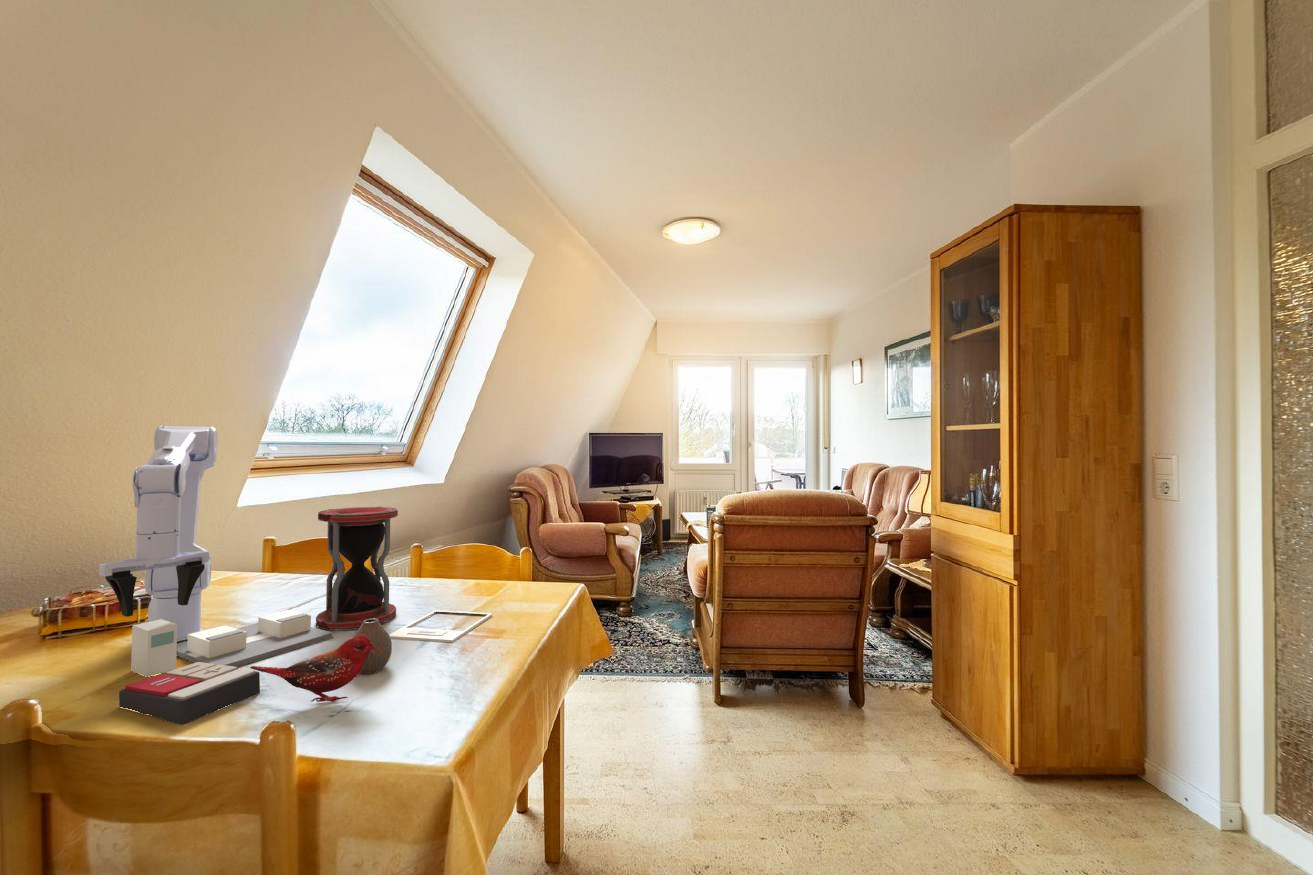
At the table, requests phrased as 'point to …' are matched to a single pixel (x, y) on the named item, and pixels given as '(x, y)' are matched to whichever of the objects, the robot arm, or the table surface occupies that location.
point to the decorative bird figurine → (326, 668)
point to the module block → (154, 647)
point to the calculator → (190, 691)
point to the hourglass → (357, 567)
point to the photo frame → (434, 630)
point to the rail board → (252, 640)
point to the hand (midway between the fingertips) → (156, 609)
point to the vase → (380, 640)
